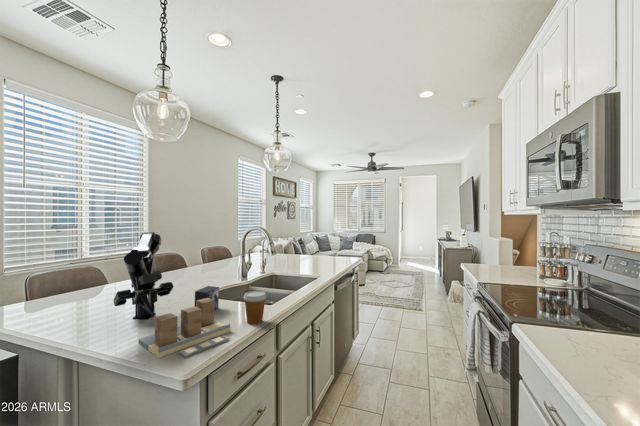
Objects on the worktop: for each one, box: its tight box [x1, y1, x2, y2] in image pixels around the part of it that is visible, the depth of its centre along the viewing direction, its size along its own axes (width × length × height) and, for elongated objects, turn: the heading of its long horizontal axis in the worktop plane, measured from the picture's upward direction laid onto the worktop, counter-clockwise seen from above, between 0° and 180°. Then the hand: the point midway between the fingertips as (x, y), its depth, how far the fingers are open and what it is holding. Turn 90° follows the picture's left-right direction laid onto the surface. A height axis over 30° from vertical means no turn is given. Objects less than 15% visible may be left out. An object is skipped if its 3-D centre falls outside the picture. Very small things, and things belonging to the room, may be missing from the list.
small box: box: [194, 285, 220, 311], centre depth 132 cm, size 11×6×10 cm, turn 168°
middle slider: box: [180, 305, 202, 338], centre depth 102 cm, size 5×5×9 cm
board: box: [138, 320, 231, 358], centre depth 104 cm, size 16×26×3 cm, turn 143°
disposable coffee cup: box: [242, 290, 267, 326], centre depth 119 cm, size 10×10×12 cm
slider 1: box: [154, 312, 178, 348], centre depth 94 cm, size 5×5×9 cm
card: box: [178, 335, 230, 359], centre depth 96 cm, size 4×16×1 cm, turn 143°
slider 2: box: [196, 298, 215, 326], centre depth 113 cm, size 5×5×9 cm
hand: (152, 312), depth 102 cm, fingers closed
